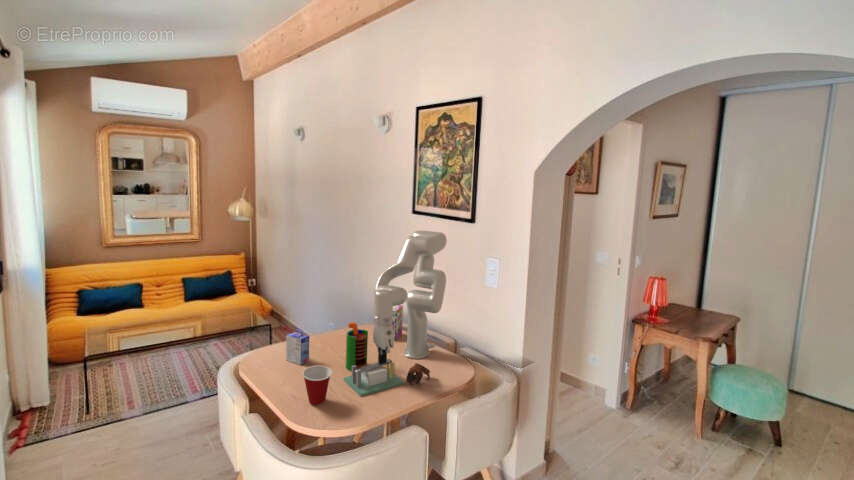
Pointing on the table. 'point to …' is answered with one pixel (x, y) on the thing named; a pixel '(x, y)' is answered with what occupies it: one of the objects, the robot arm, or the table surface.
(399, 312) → the candy bar box
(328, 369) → the plastic cup
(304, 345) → the ink cartridge box
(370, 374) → the board
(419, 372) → the pottery mug
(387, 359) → the strap
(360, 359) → the motor
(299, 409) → the table surface
